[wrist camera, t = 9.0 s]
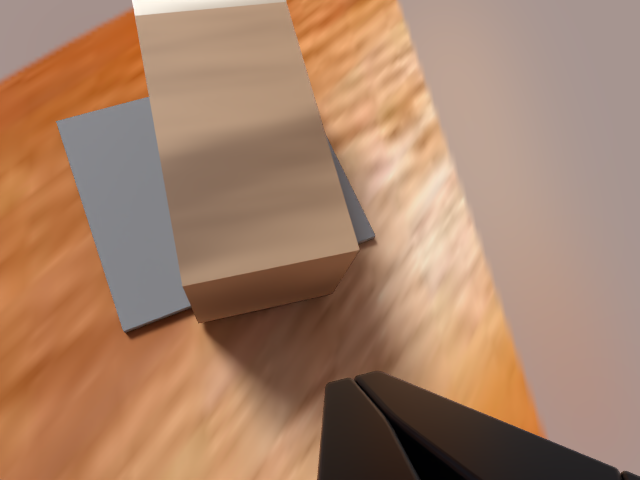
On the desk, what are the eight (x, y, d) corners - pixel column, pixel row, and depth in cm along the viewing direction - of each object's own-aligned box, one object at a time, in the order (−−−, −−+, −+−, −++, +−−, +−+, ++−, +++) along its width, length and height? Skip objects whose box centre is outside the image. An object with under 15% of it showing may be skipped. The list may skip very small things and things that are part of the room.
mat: (373, 238, 21) (375, 235, 20) (125, 332, 18) (123, 331, 18) (288, 64, 23) (288, 60, 23) (58, 125, 20) (56, 121, 20)
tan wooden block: (359, 250, 15) (280, -16, 18) (182, 286, 14) (131, -4, 17) (332, 293, 19) (273, 77, 22) (198, 323, 18) (156, 91, 21)
